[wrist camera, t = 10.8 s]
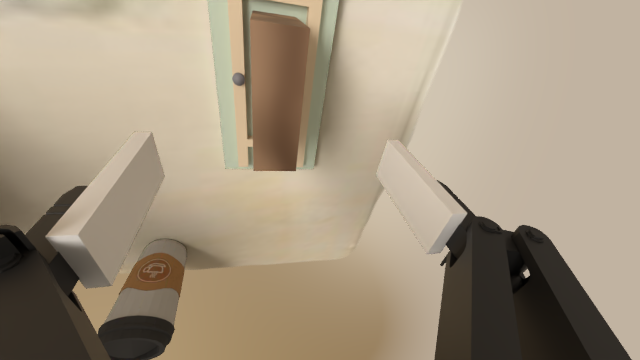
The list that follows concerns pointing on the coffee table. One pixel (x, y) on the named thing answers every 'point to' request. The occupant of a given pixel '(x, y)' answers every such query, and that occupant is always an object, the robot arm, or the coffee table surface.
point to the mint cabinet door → (235, 72)
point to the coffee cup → (146, 304)
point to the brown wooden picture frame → (277, 88)
